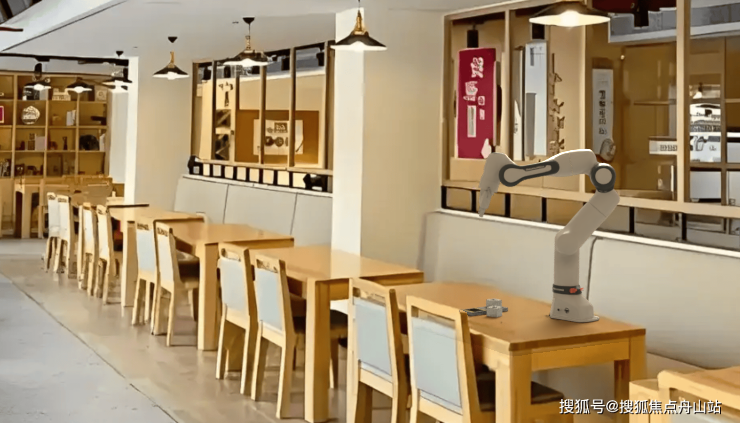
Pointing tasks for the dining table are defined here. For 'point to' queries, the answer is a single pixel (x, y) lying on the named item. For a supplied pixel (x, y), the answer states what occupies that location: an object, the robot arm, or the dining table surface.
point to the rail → (480, 311)
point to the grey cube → (493, 302)
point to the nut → (494, 311)
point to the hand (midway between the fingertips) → (480, 215)
